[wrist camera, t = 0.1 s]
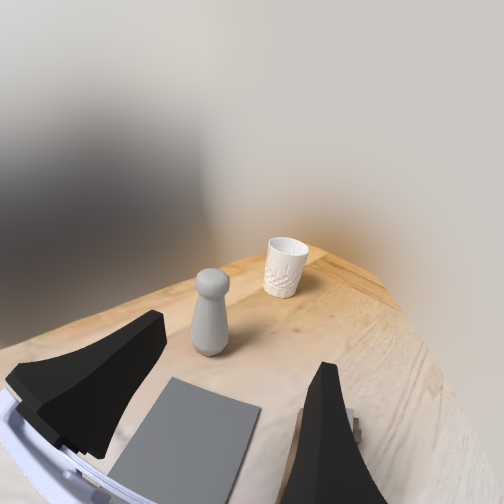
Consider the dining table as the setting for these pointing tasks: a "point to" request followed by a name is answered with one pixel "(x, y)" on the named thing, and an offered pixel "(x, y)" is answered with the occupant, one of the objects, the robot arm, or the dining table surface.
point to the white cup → (284, 266)
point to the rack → (294, 449)
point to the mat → (186, 447)
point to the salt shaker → (210, 313)
